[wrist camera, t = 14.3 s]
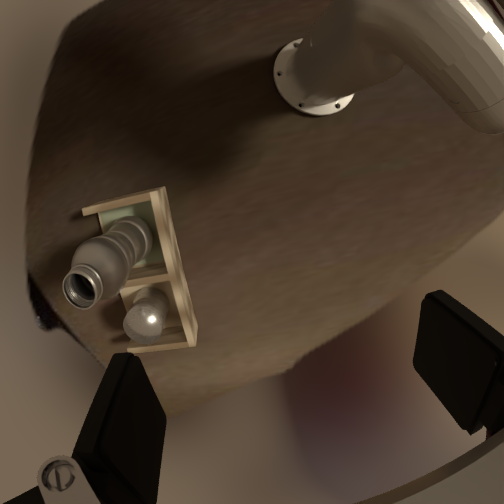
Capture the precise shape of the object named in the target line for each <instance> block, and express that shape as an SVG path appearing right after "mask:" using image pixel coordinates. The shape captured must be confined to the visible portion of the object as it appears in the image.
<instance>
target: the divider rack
mask: <svg viewBox="0 0 504 504" xmlns="http://www.w3.org/2000/svg"><path fill="white" fill-rule="evenodd" d="M82 212H83V216H86V215H90V214H94V213H97V212H98V216H99V220H100V224H101V228H102V232H103V234H105V233H107V231H108V230H109V229H110V228H111V226H112V225H113V224H114V223H115V221H116V220H118V219H119V218H121V217H123V216H137V217H140V218H142V219H143V220H145V221H146V222H147V223H148V225H149V226H150V228H151V230H152V234H153V243H152V248H151V251H150V253H149V254H148V256H147V257H146V258H144V259H143V260H142V261H140V262H138V263H136V264H135V265H134V266H133V268H132V269H131V271H130V274H129V276H128V279H127V282H126V284H125V286H124V288H123V289H122V291H121V292H120V294H121V297H122V300H123V303H124V306H125V309H126V311H127V312H128V310H129V308H130V306H131V304H132V303H133V301H134V299H135V297H136V295H137V293H138V292H139V291H140V290H141V289H143V288H145V287H154V288H157V289H159V290H161V291H162V292H163V293H165V295H166V296H167V298H168V300H169V310H168V313H167V316H166V319H165V323H164V326H163V329H162V333H161V336H160V338H159V339H158V340H157V341H156V342H154V343H152V344H141V343H138V342H135V341H134V340H132V339H131V340H130V342H129V344H128V347H127V350H128V352H131V353H142V352H151V351H160V350H169V349H177V348H185V347H192V346H196V338H197V329H198V325H197V321H196V317H195V314H194V310H193V306H192V302H191V299H190V295H189V291H188V287H187V283H186V279H185V275H184V271H183V266H182V262H181V258H180V254H179V249H178V245H177V241H176V236H175V232H174V227H173V222H172V217H171V213H170V208H169V203H168V198H167V193H166V188H165V186H164V187H159V188H154V189H150V190H145V191H141V192H137V193H132V194H128V195H124V196H120V197H116V198H112V199H108V200H104V201H100V202H97V203H94V204H92V205H90V206H87V207H85V208H83V209H82Z"/></svg>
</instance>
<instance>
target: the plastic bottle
mask: <svg viewBox="0 0 504 504" xmlns="http://www.w3.org/2000/svg"><path fill="white" fill-rule="evenodd" d="M152 243H153V234H152V230H151V228H150V226H149V225H148V223H147V222H146V221H145V220H143V219H142V218H140V217H137V216H123V217H121V218H119V219H118V220H116V221H115V223H114V224H113V225H112V226H111V228H110V229H109V230H108V231H107V233H105V234H103V235H101V236H97V237H93V238H90V239H88V240H86V241H84V242H83V243H81V244H80V245H79V246H78V248H77V249H76V251H75V253H74V256H73V258H72V263H71V270H70V271H69V273H68V274H67V275H66V276H65V278H64V280H63V292H64V295H65V297H66V299H67V300H68V302H69V303H70V304H71V305H73V306H74V307H76V308H78V309H82V310H86V309H89V308H91V307H92V306H94V304H95V303H96V302H97V301H98V300H105V299H109V298H112V297H114V296H116V295H117V294H119V293H120V292H121V291H122V289H123V288H124V286H125V284H126V282H127V279H128V276H129V274H130V271H131V269H132V268H133V266H134V265H135V264H136V263H138V262H140V261H142V260H143V259H144V258H146V257H147V256H148V254H149V253H150V251H151V248H152Z"/></svg>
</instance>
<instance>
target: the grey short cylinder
mask: <svg viewBox="0 0 504 504" xmlns="http://www.w3.org/2000/svg"><path fill="white" fill-rule="evenodd" d="M168 310H169V300H168V298H167V296H166V295H165V293H163V292H162V291H161V290H159V289H157V288H154V287H145V288H143V289H141V290H140V291H139V292H138V293H137V295H136V297H135V299H134V301H133V303H132V304H131V306H130V308H129V310H128V312H127V314H126V316H125V318H124V321H123V328H124V331H125V333H126V334H127V335H128V336H129V337H130V338H131V339H132V340H134V341H135V342H138V343H141V344H152V343H154V342H156V341H157V340H158V339H159V338H160V336H161V333H162V329H163V326H164V323H165V319H166V316H167V313H168Z"/></svg>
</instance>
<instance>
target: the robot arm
mask: <svg viewBox="0 0 504 504" xmlns="http://www.w3.org/2000/svg"><path fill="white" fill-rule="evenodd" d="M497 2H498V3H499V4H500V5H501V7H502V8H503V9H504V0H497ZM294 46H296V48H295V47H294ZM405 63H406V64H407V65H408V66H410V67H411V68H412V69H413V70H414V71H415V72H416V73H418V74H419V75H420V76H421V77H422V78H423V79H424V80H425V81H426V82H427V83H428V84H429V85H430V86H431V87H432V88H433V89H434V90H435V91H436V92H437V93H438V94H439V95H440V96H441V97H442V98H443V100H444V101H445V102H446V103H447V104H448V105H449V106H450V107H451V108H452V109H453V110H454V111H455V113H456V114H457V115H458V116H459V117H460V118H461V119H462V120H463V121H464V122H465V123H466V124H467V125H469V126H470V127H471V128H473V129H474V130H476V131H478V132H481V133H484V134H501V133H504V21H503V20H502V19H501V18H500V16H499V15H498V14H497V13H496V11H495V10H494V9H493V7H492V6H491V5H490V3H489V2H488V1H487V0H332V2H331V3H330V4H329V6H328V7H327V9H326V10H325V11H324V12H323V14H322V15H321V16H320V18H319V19H318V20H317V22H316V23H315V24H314V25H313V27H312V28H311V29H310V31H309V32H308V33H307V34H306V36H305V37H304V38H301V39H298V40H295V41H293V42H291V43H289V44H287V45H286V46H285V47H284V48H283V49H282V50H281V51H280V53H279V54H278V56H277V58H276V60H275V63H274V67H273V77H274V82H275V85H276V88H277V90H278V92H279V93H280V95H281V96H282V97H283V99H284V100H285V101H286V102H287V103H288V104H289V105H291V106H292V107H293V108H295V109H297V110H298V111H300V112H303V113H305V114H309V115H314V116H325V115H330V114H333V113H336V112H338V111H340V110H342V109H343V108H344V107H346V106H347V105H348V104H349V102H350V101H351V100H352V98H353V96H354V94H355V93H357V92H359V91H362V90H364V89H367V88H369V87H372V86H374V85H377V84H379V83H382V82H384V81H387V80H389V79H391V78H392V77H394V76H395V75H396V74H398V73H399V72H400V70H401V69H402V68H403V66H404V64H405ZM277 74H280V76H278V75H277ZM299 104H301V107H299ZM335 105H336V106H337V108H336V107H335ZM413 366H414V368H415V370H416V371H417V373H418V374H419V375H420V376H421V377H422V379H423V380H424V381H425V382H426V383H427V385H428V386H429V387H430V389H431V390H432V391H433V392H434V394H435V395H436V396H437V397H438V399H439V400H440V401H441V403H442V404H443V405H444V407H445V408H446V409H447V410H448V412H449V413H450V414H451V415H452V417H453V418H454V419H455V421H456V422H457V423H458V425H459V426H460V427H461V428H462V429H463V430H467V431H468V433H469V434H470V435H472V434H474V433H475V432H477V431H478V430H480V429H482V427H483V425H484V426H485V427H486V429H487V430H486V440H485V441H484V442H483V443H481V444H479V445H478V446H476V447H475V448H473V449H472V450H470V451H468V452H467V453H465V454H463V455H462V456H460V457H458V458H457V459H455V460H453V461H451V462H449V463H447V464H446V465H444V466H442V467H440V468H438V469H436V470H434V471H432V472H430V473H428V474H426V475H424V476H422V477H420V478H418V479H416V480H413V481H411V482H409V483H407V484H405V485H402V486H400V487H397V488H395V489H393V490H390V491H388V492H385V493H383V494H380V495H377V496H375V497H372V498H369V499H366V500H363V501H360V502H357V503H354V504H504V336H503V335H502V334H500V333H499V332H498V331H497V330H495V329H494V328H493V327H492V326H490V325H489V324H488V323H486V322H485V321H484V320H483V319H481V318H480V317H478V316H477V315H476V314H475V313H473V312H472V311H471V310H469V309H468V308H467V307H465V306H464V305H462V304H461V303H460V302H458V301H457V300H456V299H454V298H453V297H451V296H450V295H449V294H447V293H446V292H444V291H443V290H437V291H434V292H431V293H428V294H426V296H425V299H423V301H422V303H421V311H420V319H419V326H418V333H417V339H416V346H415V352H414V357H413ZM165 430H166V415H165V412H164V410H163V408H162V406H161V404H160V402H159V400H158V398H157V396H156V394H155V392H154V389H153V387H152V385H151V383H150V381H149V378H148V376H147V374H146V372H145V369H144V367H143V365H142V362H141V360H140V358H139V357H138V356H134V355H133V353H131V352H126V353H115V354H114V355H113V356H112V358H111V361H110V363H109V365H108V367H107V369H106V372H105V374H104V376H103V378H102V381H101V383H100V385H99V388H98V390H97V393H96V395H95V397H94V399H93V402H92V404H91V407H90V409H89V412H88V414H87V416H86V419H85V421H84V424H83V427H82V429H81V432H80V434H79V437H78V439H77V442H76V445H75V448H74V450H73V454H72V457H68V456H64V455H63V456H55V457H52V458H50V459H49V460H47V461H45V462H44V464H43V465H42V466H41V467H40V469H39V471H38V475H37V481H38V486H36V487H34V488H32V489H30V490H29V491H27V492H25V493H23V494H21V495H19V496H17V497H15V498H13V499H11V500H9V501H7V502H5V503H3V504H156V502H157V495H158V486H159V485H158V484H159V477H160V468H161V460H162V452H163V444H164V437H165Z"/></svg>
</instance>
